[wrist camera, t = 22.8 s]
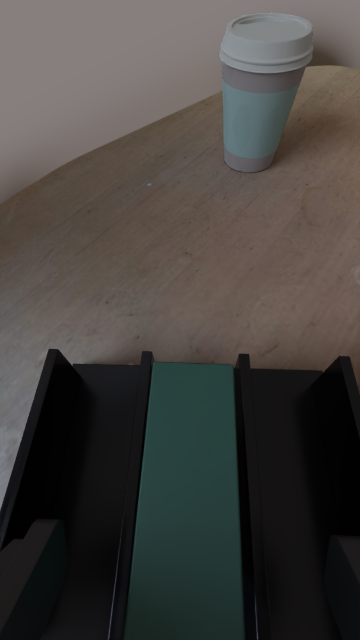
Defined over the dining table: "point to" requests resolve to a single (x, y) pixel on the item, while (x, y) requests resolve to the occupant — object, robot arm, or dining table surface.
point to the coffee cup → (260, 84)
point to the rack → (253, 477)
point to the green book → (188, 511)
